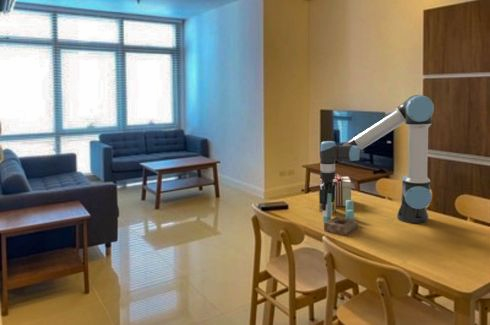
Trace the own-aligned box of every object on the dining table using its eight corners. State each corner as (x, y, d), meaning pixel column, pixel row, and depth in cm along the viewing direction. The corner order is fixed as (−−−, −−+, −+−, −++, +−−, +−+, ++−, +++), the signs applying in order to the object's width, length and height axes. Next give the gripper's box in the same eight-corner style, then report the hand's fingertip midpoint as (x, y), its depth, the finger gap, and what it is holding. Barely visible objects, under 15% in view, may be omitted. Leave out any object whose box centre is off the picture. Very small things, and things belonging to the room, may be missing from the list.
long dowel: (332, 221, 219) (332, 193, 217) (328, 223, 216) (328, 195, 214) (325, 220, 222) (326, 192, 219) (321, 221, 219) (322, 194, 216)
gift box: (318, 200, 262) (318, 173, 259) (347, 199, 261) (348, 172, 258) (322, 207, 245) (322, 179, 242) (353, 207, 244) (354, 178, 241)
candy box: (318, 211, 238) (318, 185, 236) (321, 209, 242) (321, 183, 239) (333, 212, 234) (334, 186, 231) (336, 210, 238) (336, 184, 235)
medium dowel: (354, 218, 223) (354, 200, 221) (351, 220, 220) (351, 202, 218) (347, 217, 225) (348, 199, 224) (344, 219, 222) (344, 201, 221)
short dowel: (355, 223, 215) (355, 210, 214) (351, 225, 212) (351, 212, 211) (348, 222, 218) (348, 209, 216) (344, 224, 215) (344, 210, 213)
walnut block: (357, 229, 206) (358, 221, 206) (346, 235, 198) (346, 227, 197) (336, 224, 214) (336, 216, 214) (324, 230, 206) (324, 222, 205)
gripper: (329, 167, 223) (329, 210, 227) (312, 173, 211) (312, 217, 215) (342, 169, 218) (341, 212, 222) (325, 174, 206) (324, 220, 210)
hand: (327, 214), depth 218 cm, fingers closed on long dowel, 4 cm apart
